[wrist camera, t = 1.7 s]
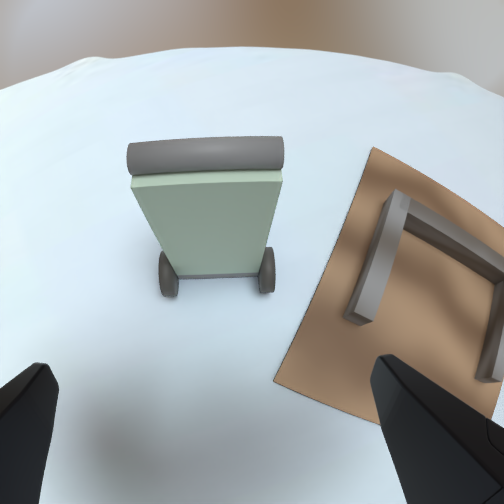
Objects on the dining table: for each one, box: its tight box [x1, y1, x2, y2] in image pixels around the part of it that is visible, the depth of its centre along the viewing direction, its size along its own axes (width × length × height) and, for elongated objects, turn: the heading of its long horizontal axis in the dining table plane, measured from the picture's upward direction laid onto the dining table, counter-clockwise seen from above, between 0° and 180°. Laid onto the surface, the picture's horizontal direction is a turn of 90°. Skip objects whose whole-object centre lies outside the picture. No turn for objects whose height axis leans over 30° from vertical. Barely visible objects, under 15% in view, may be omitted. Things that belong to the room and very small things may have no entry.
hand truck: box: [127, 136, 284, 296], centre depth 17 cm, size 6×7×13 cm
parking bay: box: [273, 147, 504, 425], centre depth 22 cm, size 22×20×3 cm
